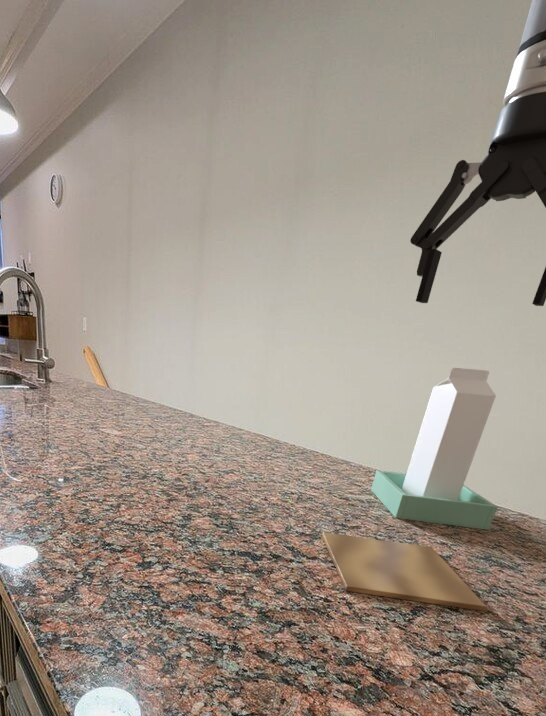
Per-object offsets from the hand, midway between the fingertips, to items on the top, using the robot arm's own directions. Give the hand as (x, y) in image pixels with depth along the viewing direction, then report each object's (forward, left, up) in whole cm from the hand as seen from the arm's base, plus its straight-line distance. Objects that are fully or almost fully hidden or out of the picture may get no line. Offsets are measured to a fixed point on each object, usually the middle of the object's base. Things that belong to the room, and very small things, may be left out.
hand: (475, 303), depth 60 cm
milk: (-4, -4, -30) cm, 31 cm away
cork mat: (+9, +21, -31) cm, 38 cm away
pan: (-4, -4, -31) cm, 31 cm away
